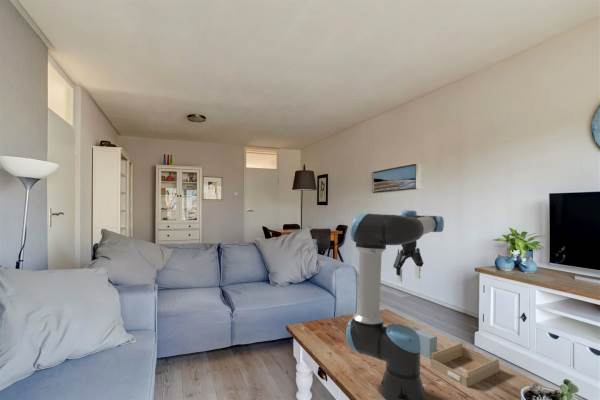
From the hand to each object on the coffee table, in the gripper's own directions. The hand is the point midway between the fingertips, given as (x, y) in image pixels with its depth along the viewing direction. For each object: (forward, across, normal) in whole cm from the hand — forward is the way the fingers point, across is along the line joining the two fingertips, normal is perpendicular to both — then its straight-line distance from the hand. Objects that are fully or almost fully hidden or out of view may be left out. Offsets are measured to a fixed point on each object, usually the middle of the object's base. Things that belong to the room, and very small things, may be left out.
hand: (408, 279), depth 159 cm
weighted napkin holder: (+29, -9, -16) cm, 34 cm away
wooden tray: (+29, -6, -35) cm, 46 cm away
